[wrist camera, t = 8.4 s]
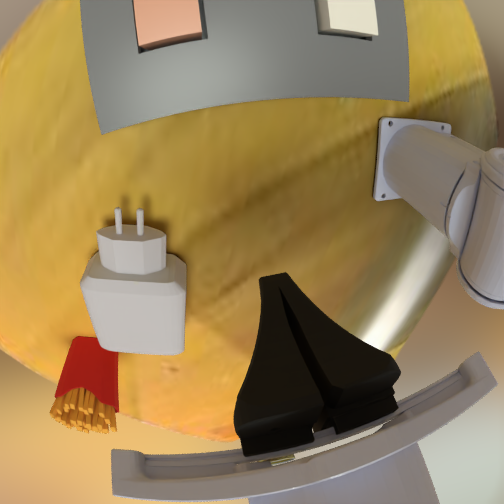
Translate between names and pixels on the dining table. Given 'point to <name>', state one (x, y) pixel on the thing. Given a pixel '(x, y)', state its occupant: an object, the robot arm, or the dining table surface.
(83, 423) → the french fries
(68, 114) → the dining table surface
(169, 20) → the terracotta key
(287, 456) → the ceramic cup
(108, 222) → the dining table surface
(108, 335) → the charger
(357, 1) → the offwhite key
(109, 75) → the key box
